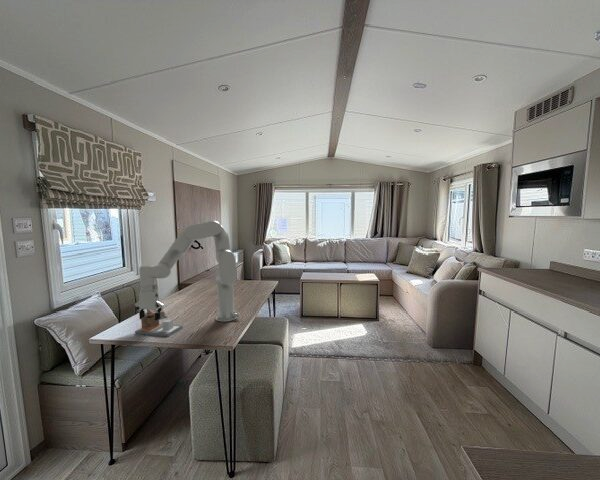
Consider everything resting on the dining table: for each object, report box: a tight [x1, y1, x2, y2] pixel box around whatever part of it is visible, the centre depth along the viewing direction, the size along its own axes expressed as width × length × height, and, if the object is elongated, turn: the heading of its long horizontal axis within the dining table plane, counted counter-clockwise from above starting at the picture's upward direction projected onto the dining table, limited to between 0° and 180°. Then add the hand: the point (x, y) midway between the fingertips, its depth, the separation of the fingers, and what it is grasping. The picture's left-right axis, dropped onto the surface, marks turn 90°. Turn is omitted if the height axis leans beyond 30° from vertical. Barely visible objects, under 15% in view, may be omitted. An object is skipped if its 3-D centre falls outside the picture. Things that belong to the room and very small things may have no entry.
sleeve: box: [140, 315, 160, 330], centre depth 160 cm, size 6×6×6 cm
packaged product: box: [145, 309, 169, 320], centre depth 186 cm, size 18×5×10 cm
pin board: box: [134, 318, 183, 337], centre depth 159 cm, size 20×12×6 cm, turn 78°
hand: (150, 319), depth 160 cm, fingers open, 9 cm apart
